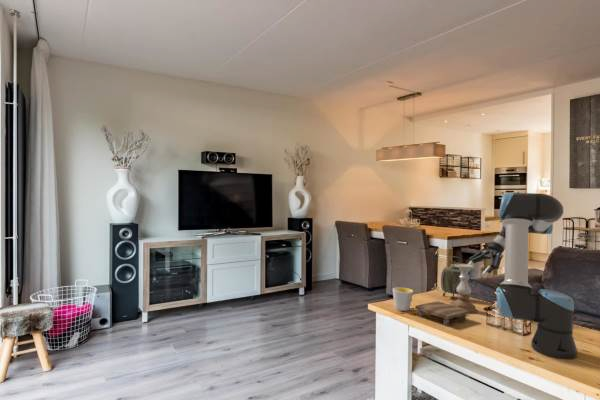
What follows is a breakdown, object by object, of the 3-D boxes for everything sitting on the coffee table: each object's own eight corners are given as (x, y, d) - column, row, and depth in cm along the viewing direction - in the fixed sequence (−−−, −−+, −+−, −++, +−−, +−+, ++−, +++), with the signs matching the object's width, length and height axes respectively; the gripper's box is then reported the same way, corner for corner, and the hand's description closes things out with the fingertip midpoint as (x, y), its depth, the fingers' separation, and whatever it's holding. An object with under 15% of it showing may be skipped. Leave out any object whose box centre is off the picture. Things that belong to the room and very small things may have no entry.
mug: (402, 313, 190) (403, 293, 190) (387, 308, 199) (388, 288, 198) (420, 310, 197) (421, 290, 197) (405, 304, 206) (406, 285, 206)
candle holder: (477, 313, 195) (479, 267, 195) (456, 312, 195) (458, 266, 195) (468, 307, 206) (470, 263, 206) (448, 306, 206) (450, 262, 206)
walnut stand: (469, 320, 183) (469, 310, 183) (447, 327, 173) (447, 316, 173) (437, 310, 198) (437, 301, 198) (415, 315, 187) (415, 305, 187)
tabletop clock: (466, 298, 224) (468, 256, 224) (466, 302, 216) (468, 258, 216) (440, 294, 230) (442, 254, 230) (439, 298, 222) (441, 256, 221)
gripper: (520, 254, 195) (495, 284, 192) (485, 247, 219) (462, 273, 216) (512, 244, 194) (486, 273, 190) (478, 238, 218) (454, 264, 214)
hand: (473, 273), depth 203 cm, fingers open, 13 cm apart
